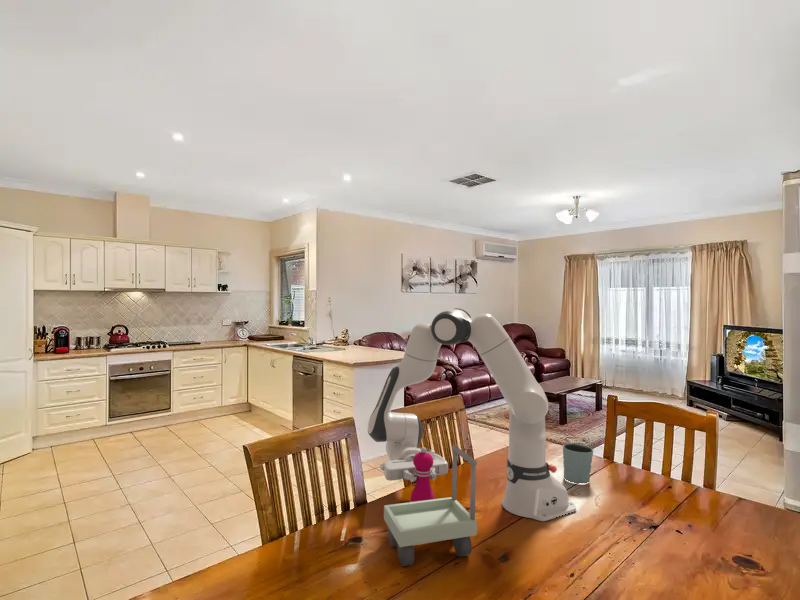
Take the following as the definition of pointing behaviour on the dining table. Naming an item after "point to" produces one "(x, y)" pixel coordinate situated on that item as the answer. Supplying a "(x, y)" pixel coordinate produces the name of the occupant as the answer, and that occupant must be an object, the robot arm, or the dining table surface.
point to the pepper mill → (422, 476)
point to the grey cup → (577, 462)
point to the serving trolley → (433, 519)
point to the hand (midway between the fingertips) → (424, 478)
